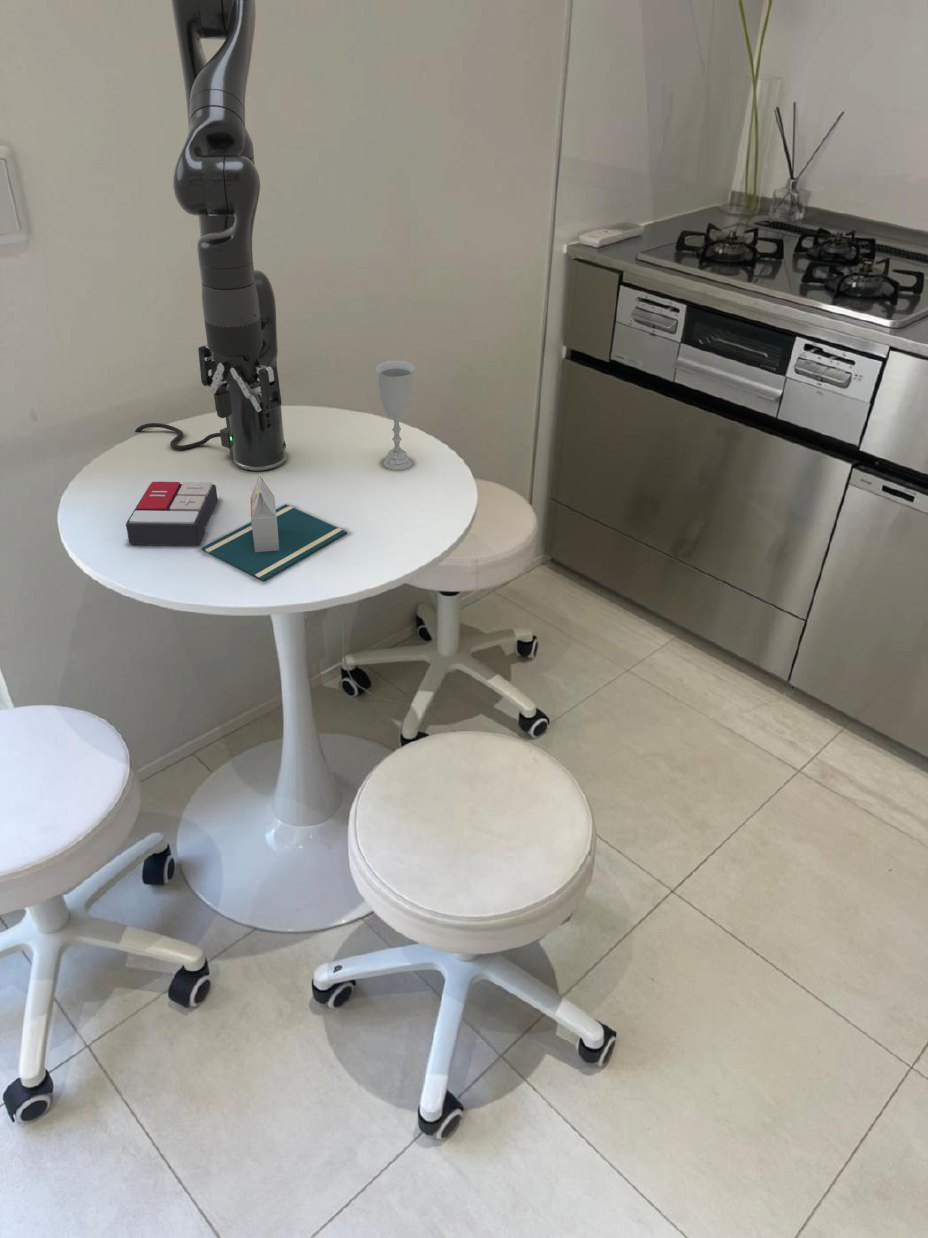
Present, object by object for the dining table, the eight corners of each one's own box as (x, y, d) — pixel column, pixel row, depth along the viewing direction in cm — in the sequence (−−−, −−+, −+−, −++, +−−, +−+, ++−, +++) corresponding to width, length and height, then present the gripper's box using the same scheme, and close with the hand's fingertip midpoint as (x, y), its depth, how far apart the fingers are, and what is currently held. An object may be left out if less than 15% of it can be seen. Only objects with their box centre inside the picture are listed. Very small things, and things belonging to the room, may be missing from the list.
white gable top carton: (277, 528, 154) (271, 472, 148) (279, 550, 149) (273, 493, 143) (254, 530, 153) (247, 474, 147) (255, 552, 148) (248, 495, 142)
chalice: (410, 474, 171) (409, 378, 160) (373, 470, 172) (370, 374, 161) (420, 456, 177) (420, 362, 166) (384, 452, 178) (382, 358, 167)
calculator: (215, 479, 160) (195, 520, 147) (218, 503, 162) (199, 545, 150) (149, 478, 160) (124, 519, 147) (153, 502, 162) (128, 544, 149)
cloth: (201, 549, 149) (201, 547, 149) (285, 506, 161) (285, 503, 160) (263, 581, 142) (263, 579, 142) (347, 533, 154) (346, 531, 154)
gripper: (288, 320, 130) (297, 430, 139) (218, 296, 136) (231, 402, 146) (246, 334, 125) (258, 447, 134) (176, 309, 132) (192, 418, 141)
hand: (244, 424), depth 140 cm, fingers open, 8 cm apart
